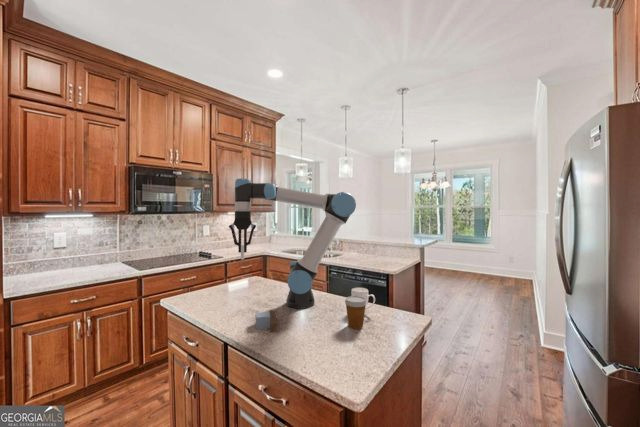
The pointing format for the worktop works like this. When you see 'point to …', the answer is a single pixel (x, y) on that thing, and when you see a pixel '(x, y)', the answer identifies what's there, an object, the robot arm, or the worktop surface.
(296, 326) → the worktop surface
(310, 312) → the worktop surface
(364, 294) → the mug
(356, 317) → the disposable coffee cup
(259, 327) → the block
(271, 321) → the narrow bar
